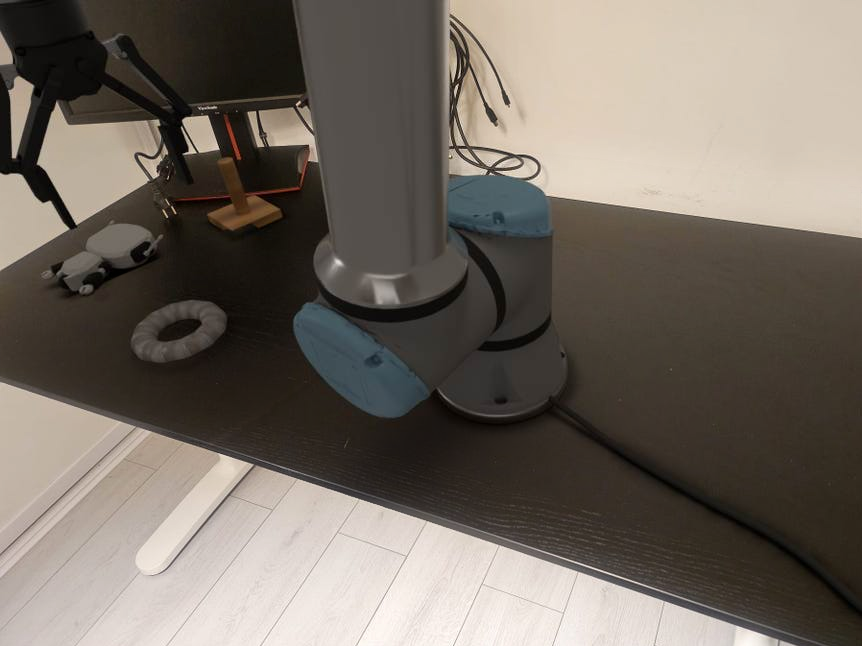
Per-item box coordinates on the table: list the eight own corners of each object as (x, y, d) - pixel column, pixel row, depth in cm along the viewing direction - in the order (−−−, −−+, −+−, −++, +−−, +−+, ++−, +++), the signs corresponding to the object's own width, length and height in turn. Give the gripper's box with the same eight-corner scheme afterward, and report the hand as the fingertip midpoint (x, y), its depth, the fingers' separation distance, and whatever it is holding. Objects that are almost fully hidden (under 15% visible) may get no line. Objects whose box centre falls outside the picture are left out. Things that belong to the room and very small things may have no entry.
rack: (282, 217, 104) (264, 157, 97) (235, 238, 99) (211, 177, 93) (256, 202, 109) (236, 144, 102) (209, 222, 105) (186, 163, 98)
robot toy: (96, 311, 88) (177, 253, 97) (78, 286, 85) (163, 229, 93) (47, 291, 93) (128, 238, 102) (28, 267, 90) (113, 214, 98)
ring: (246, 337, 79) (238, 319, 77) (160, 384, 74) (149, 365, 72) (206, 303, 86) (198, 285, 84) (124, 344, 80) (113, 326, 78)
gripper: (145, -35, 65) (216, 157, 79) (-137, 18, 53) (5, 234, 67) (173, -29, 61) (243, 172, 75) (-126, 29, 49) (24, 257, 63)
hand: (131, 202), depth 71 cm, fingers open, 13 cm apart
